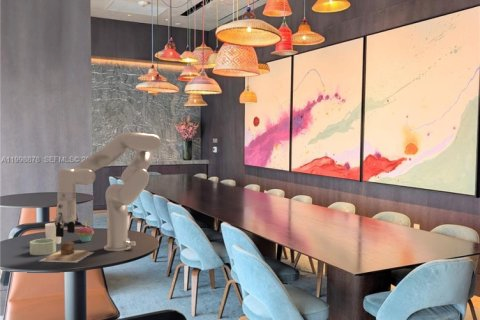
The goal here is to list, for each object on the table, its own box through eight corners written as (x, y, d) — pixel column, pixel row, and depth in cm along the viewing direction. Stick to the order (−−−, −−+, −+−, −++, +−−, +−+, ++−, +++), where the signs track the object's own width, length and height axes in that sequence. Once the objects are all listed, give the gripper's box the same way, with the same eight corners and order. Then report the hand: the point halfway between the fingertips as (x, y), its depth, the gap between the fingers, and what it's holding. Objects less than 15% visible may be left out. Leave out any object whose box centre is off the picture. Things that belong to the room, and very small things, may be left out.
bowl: (60, 250, 199) (60, 238, 199) (47, 256, 188) (47, 244, 188) (38, 249, 200) (38, 238, 200) (24, 255, 189) (24, 243, 189)
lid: (88, 253, 193) (87, 239, 193) (74, 260, 180) (74, 246, 180) (61, 252, 194) (61, 239, 194) (45, 259, 181) (45, 245, 181)
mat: (94, 253, 195) (94, 252, 195) (76, 263, 178) (76, 262, 178) (59, 251, 196) (59, 251, 196) (38, 261, 179) (38, 261, 179)
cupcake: (95, 241, 218) (95, 218, 218) (79, 243, 213) (78, 220, 213) (91, 238, 225) (91, 216, 225) (75, 240, 221) (74, 217, 220)
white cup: (57, 241, 218) (57, 222, 218) (65, 243, 213) (64, 223, 213) (42, 243, 212) (42, 224, 212) (49, 246, 207) (49, 226, 207)
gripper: (64, 198, 177) (63, 238, 177) (83, 194, 194) (82, 231, 194) (47, 197, 178) (46, 238, 178) (68, 194, 195) (67, 230, 195)
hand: (65, 234), depth 186 cm, fingers open, 9 cm apart
